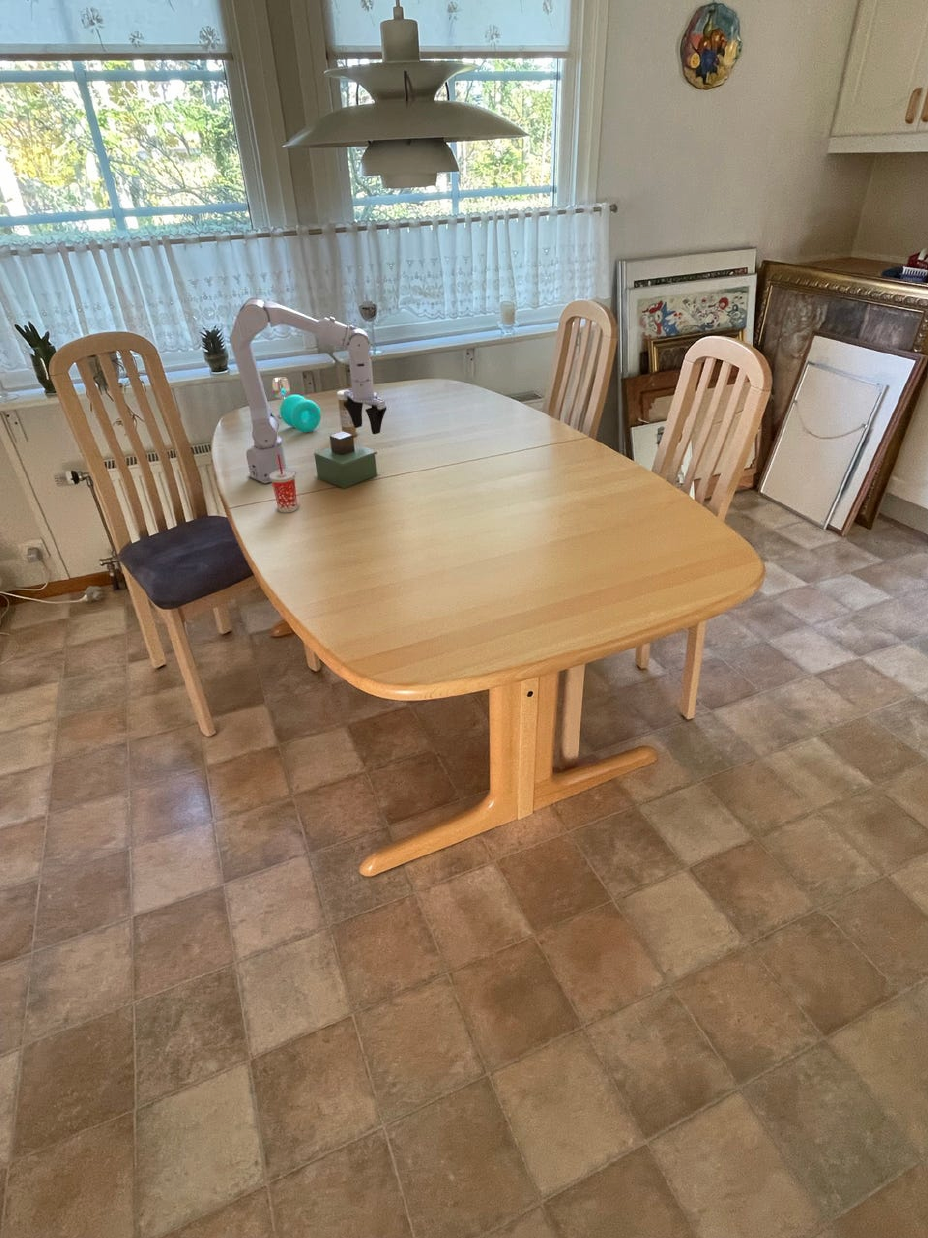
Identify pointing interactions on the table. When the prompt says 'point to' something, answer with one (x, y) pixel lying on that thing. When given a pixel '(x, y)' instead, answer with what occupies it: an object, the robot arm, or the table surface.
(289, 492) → the beverage cup
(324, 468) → the chest
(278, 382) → the wineglass
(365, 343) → the robot arm
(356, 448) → the lid
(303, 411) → the donuts
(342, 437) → the block
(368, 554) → the table surface
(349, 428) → the sprinkles bottle
